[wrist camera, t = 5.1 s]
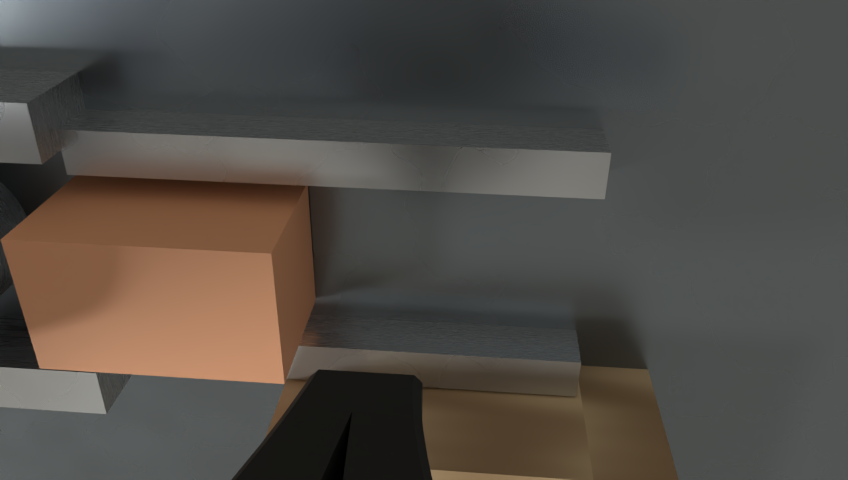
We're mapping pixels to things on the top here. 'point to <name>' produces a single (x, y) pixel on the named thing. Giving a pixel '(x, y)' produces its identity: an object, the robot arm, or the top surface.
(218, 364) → the orange rectangular block
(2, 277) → the cylinder
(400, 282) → the slate board
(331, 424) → the robot arm
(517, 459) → the frame
